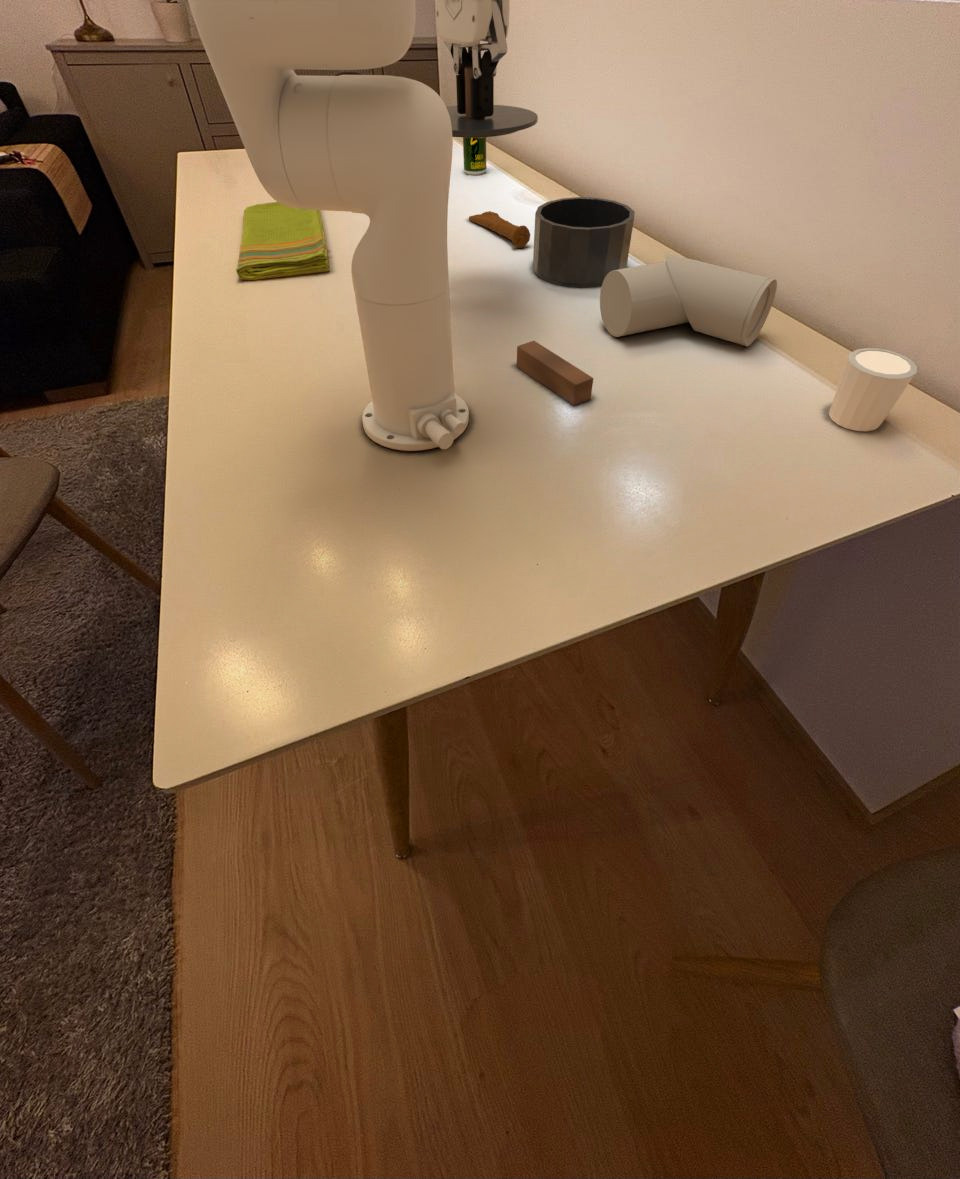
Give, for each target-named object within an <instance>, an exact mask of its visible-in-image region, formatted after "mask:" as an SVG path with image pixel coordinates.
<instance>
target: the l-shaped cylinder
mask: <svg viewBox="0 0 960 1179" xmlns="http://www.w3.org/2000/svg"><path fill="white" fill-rule="evenodd" d="M664 259H665V260H664V261H660V262H653V263H647V264H642V265H636V266H631V267H630V266H629V267H626V268H624V269H618V270H613V271H611V272H609V273H608V274H607V275H606V277H605V279H604V281H603V284H602V286H600V287H601V288H600V293H599V308H600V309H599V310H600V316H601V319H602V323H603V325H604V327H605V329H606V331H607V332H608V334H609V335H611V336H613V337H615V338H619V337H625V336H629V335H634V334H639V333H643V332H648V331H653V330H658V329H662V328H669V327H672V326H678V325H683V324H687V323H689V325H690V326H691V328H692V330H693V331H694V332H697V333H700V334H703V335H707V336H711V337H714V338H717V339H721V340H724V341H727V342H730V343H734V344H738V345H741V346H745V347H749V346H751V345H752V343H754V341H755V340H756V339H757V337H758V335H759V334H760V332H761V331H762V329H763V327H764V325H765V323H766V321H767V318H768V316H769V314H770V311H771V310H772V306H773V304H774V300H775V298H776V294H777V288H778V281H777V279H775V278H770V277H766V276H763V275H758V274H754V273H751V272H747V271H741V270H737V269H733V268H729V267H725V266H723V265H722V266H721V265H717V264H712V263H709V262H705V261H700V260H696V259H692V258H688V257H685V256H680V255H676V254H672V253H668V252H664Z"/></svg>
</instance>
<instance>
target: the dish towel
mask: <svg viewBox="0 0 960 1179" xmlns="http://www.w3.org/2000/svg"><path fill="white" fill-rule="evenodd" d="M329 258H330V257H329V253H328V248H327V242H326V236H325V230H324V227H323V221H322V215H321V210H307V209H297V208H291V207H287V206H284V205H282V204H280V203H278V202H277V201H272V202H265V203H257V204H253V205H249V206H247V207H245V209H244V210H243V218H242V235H241V243H240V250H239V254H238V261H237V266H236V269H235V271H236V274H237V276H238V277H239V279H241V280H245V281H257V280H265V279H273V278H283V277H289V276H299V275H308V274H315V273H326V272H328V271H330V260H329Z"/></svg>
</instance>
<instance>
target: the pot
mask: <svg viewBox="0 0 960 1179" xmlns="http://www.w3.org/2000/svg"><path fill="white" fill-rule="evenodd" d="M635 214H636V212H635V210H634V209H632V207H630V206H629V205H627V204H625V203H622V202H619V201H616V200H612V199H607V198H601V197H587V196H586V197H585V196H576V197H575V196H573V197H562V198H558V199H554V200H553V199H552V200H549V201H547V202H545V203H543V204H541V205H539V206H538V207H537V208H536V211H535V214H534V234H533V252H532V253H533V254H532V267H533V272H534V273H535V275H536V276H537V277H538V278H540V279H542V280H544V281H546V282H548V283H551V284H554V285H558V286H562V287H563V286H564V287H569V288H571V287H572V288H594V287H602V284H603V281H604V279H605V277H606V275H607V274H608V273H609V272H611V271H613V270H618V269H624V268H628V266H627V265H628V261H629V253H630V247H631V241H632V234H633V227H634V221H635Z"/></svg>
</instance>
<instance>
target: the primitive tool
mask: <svg viewBox="0 0 960 1179" xmlns="http://www.w3.org/2000/svg"><path fill="white" fill-rule="evenodd" d="M468 220H469V221H470V222H472V223H474V224H477V225H480V226H483V227H484V228H487V229H490V231H492V232H495V233H497V234H498V235H500V236H502V237H505V238H506V239H508V240H510V241H512V244H513V245H514V246H515V247H516V248H518V249H522V248H525V247H526V246H527V245H528V243H529V242H530V239H531V231H530V229H529V228H528V227H527V226H526V225H519V226H518V225H515V224H514V223H512V222H509V220H507V219H506V220H505V219H504V218H502V217H501V216H499V214H498V212H494V211H490V210H488V211H485V212H482V213H480V214H479V213H478V214H474V215H469V216H468Z"/></svg>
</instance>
